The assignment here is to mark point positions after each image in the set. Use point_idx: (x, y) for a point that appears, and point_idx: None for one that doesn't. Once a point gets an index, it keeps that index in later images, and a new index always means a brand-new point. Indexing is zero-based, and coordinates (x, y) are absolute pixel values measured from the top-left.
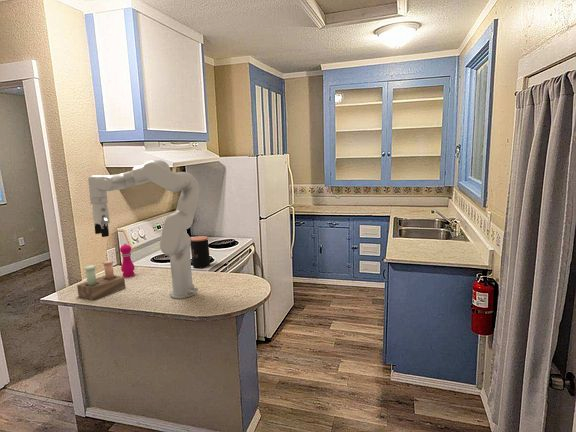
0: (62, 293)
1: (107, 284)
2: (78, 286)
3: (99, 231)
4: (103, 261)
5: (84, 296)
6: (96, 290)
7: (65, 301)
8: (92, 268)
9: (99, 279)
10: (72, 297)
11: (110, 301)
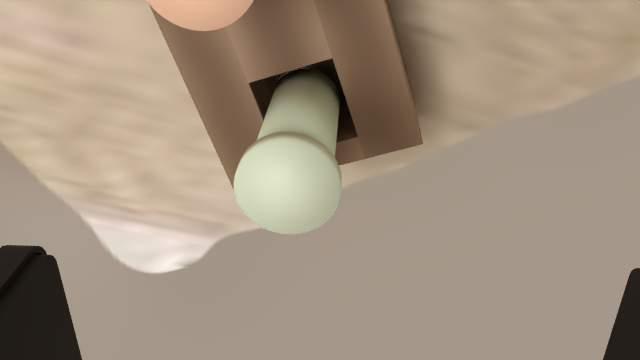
0: (99, 195)
1: (386, 7)
2: None
3: (40, 350)
4: (161, 11)
5: None
6: (412, 102)
7: None
8: (339, 176)
9: None
10: None
11: (552, 33)
